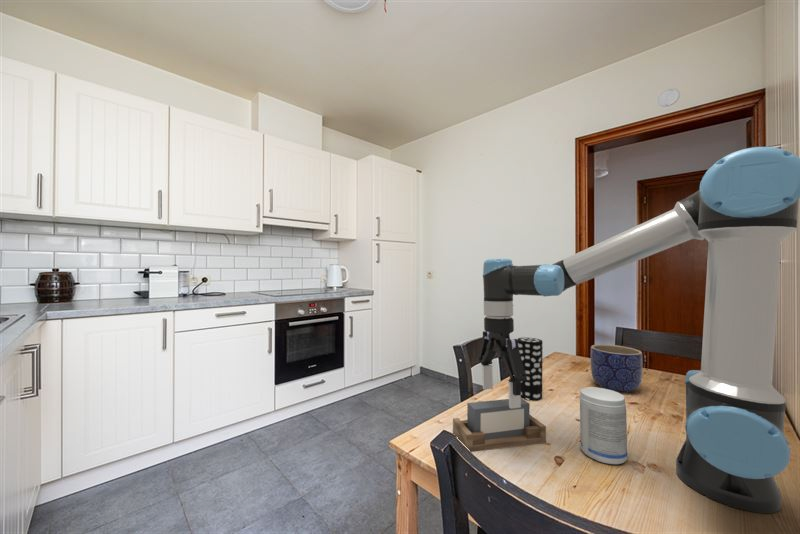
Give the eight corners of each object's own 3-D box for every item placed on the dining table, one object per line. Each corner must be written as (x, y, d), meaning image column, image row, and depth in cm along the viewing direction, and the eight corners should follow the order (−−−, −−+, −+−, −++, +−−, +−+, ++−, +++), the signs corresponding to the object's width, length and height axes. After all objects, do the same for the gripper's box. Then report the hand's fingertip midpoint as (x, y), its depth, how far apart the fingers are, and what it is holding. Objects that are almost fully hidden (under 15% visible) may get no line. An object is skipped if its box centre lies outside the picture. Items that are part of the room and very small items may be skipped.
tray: (545, 442, 82) (546, 426, 82) (466, 452, 78) (466, 434, 78) (525, 426, 91) (525, 411, 91) (452, 433, 86) (453, 418, 86)
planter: (654, 396, 114) (653, 354, 114) (607, 395, 114) (607, 354, 115) (622, 380, 131) (622, 344, 131) (582, 380, 131) (581, 343, 131)
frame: (529, 433, 84) (529, 403, 84) (474, 441, 80) (474, 409, 81) (520, 426, 88) (520, 397, 88) (467, 433, 84) (467, 403, 84)
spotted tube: (544, 395, 115) (544, 339, 115) (540, 402, 108) (540, 343, 108) (520, 390, 119) (520, 336, 120) (514, 397, 112) (515, 340, 112)
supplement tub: (637, 463, 74) (637, 399, 74) (603, 469, 71) (603, 403, 72) (602, 441, 83) (601, 385, 83) (570, 446, 81) (570, 387, 81)
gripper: (541, 322, 74) (543, 415, 73) (488, 311, 98) (490, 381, 97) (512, 323, 72) (514, 419, 71) (465, 312, 96) (467, 383, 96)
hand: (500, 397), depth 84 cm, fingers open, 13 cm apart
